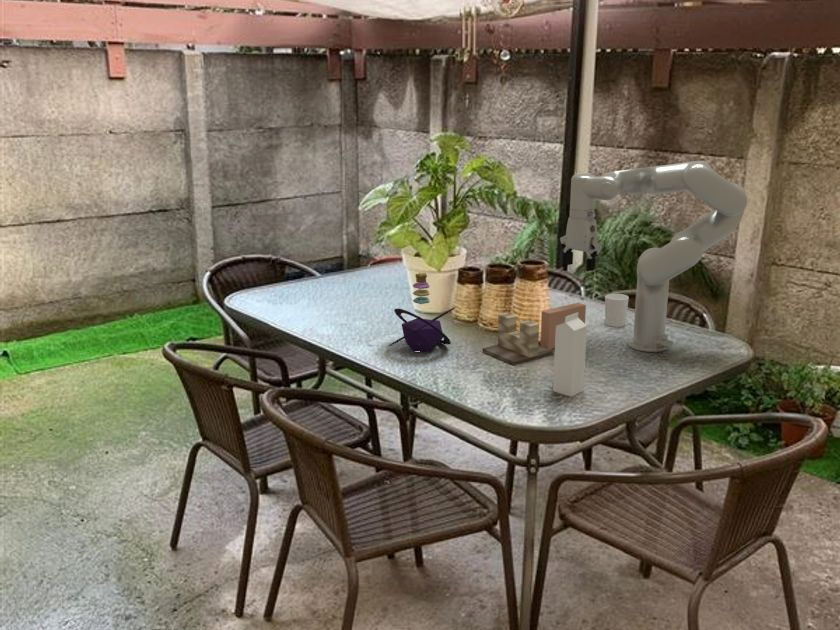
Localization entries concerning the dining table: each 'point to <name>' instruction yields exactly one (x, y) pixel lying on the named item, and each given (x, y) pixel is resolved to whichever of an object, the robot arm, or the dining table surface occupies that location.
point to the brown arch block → (557, 321)
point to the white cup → (616, 309)
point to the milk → (570, 356)
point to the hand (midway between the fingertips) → (579, 267)
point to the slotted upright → (517, 341)
